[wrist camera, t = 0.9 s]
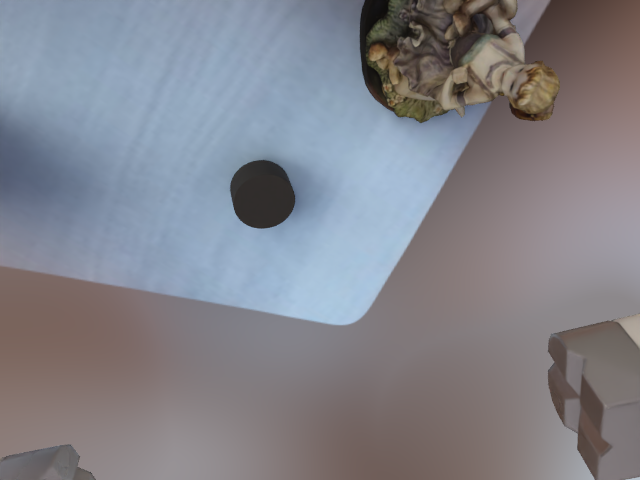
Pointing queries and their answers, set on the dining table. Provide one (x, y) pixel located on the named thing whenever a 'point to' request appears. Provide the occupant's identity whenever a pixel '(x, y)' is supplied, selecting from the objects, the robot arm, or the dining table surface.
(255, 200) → the cylinder
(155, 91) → the dining table surface
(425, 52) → the figurine
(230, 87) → the dining table surface
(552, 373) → the robot arm
